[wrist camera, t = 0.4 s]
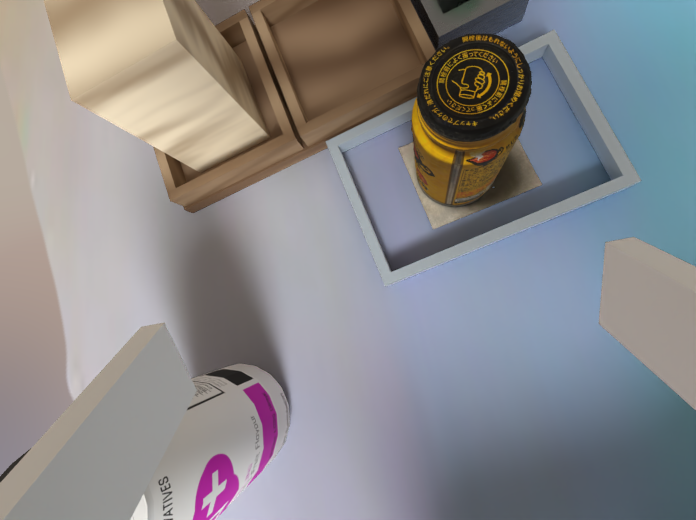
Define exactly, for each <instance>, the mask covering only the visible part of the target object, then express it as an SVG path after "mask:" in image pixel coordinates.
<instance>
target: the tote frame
mask: <svg viewBox="0 0 696 520" xmlns="http://www.w3.org/2000/svg"><path fill="white" fill-rule="evenodd" d="M518 48H519V49H520V50H521V52H522V53H523V54H524V56H525V59H526V60H527V62H528V63H531V62H533V61H535V60H537V59H539V58H541V57H543V59H544V61H545V63H546V65H547V66H548V68H549V70H550V72H551V73H552V75H553V77H554V79H555V81H556V82H557V84H558V86H559V88H560V90H561V91H562V93H563V95H564V97H565V98H566V100H567V102H568V104H569V106H570V107H571V109H572V111H573V113H574V115H575V116H576V118H577V120H578V122H579V123H580V125H581V127H582V129H583V131H584V132H585V134H586V136H587V138H588V140H589V141H590V143H591V145H592V147H593V148H594V150H595V152H596V154H597V156H598V157H599V159H600V161H601V163H602V165H603V166H604V168H605V170H606V172H607V173H608V175H609V177H610V179H611V181H609V182H606V183H604V184H601V185H599V186H597V187H594V188H592V189H589V190H587V191H585V192H582V193H580V194H577V195H575V196H573V197H570V198H568V199H565V200H563V201H561V202H558V203H556V204H553V205H551V206H549V207H546V208H544V209H541V210H539V211H537V212H534V213H532V214H529V215H527V216H525V217H522V218H520V219H517V220H515V221H513V222H510V223H508V224H505V225H503V226H501V227H498V228H496V229H493V230H491V231H489V232H486V233H484V234H481V235H479V236H477V237H474V238H472V239H469V240H467V241H465V242H462V243H460V244H457V245H455V246H453V247H450V248H448V249H445V250H443V251H440V252H438V253H436V254H433V255H431V256H428V257H426V258H424V259H421V260H419V261H416V262H414V263H412V264H409V265H407V266H404V267H402V268H400V269H397V270H395V271H391V269H390V266H389V264H388V262H387V259H386V257H385V254H384V252H383V250H382V247H381V245H380V242H379V240H378V238H377V235H376V233H375V230H374V228H373V226H372V223H371V221H370V218H369V216H368V214H367V211H366V209H365V206H364V204H363V202H362V199H361V197H360V195H359V192H358V190H357V187H356V185H355V183H354V180H353V178H352V175H351V173H350V171H349V168H348V166H347V163H346V161H345V159H344V156H343V154H342V153H343V152H345V151H347V150H349V149H351V148H354V147H356V146H358V145H360V144H362V143H364V142H366V141H368V140H370V139H372V138H374V137H376V136H379V135H381V134H383V133H385V132H387V131H389V130H391V129H393V128H395V127H397V126H399V125H401V124H404V123H406V122H408V121H410V120H412V110H413V106H414V103H415V100H416V98H417V97H415V98H413V99H411V100H409V101H407V102H405V103H403V104H401V105H399V106H397V107H395V108H393V109H391V110H389V111H387V112H385V113H383V114H381V115H379V116H377V117H374V118H372V119H370V120H368V121H366V122H364V123H362V124H360V125H358V126H356V127H354V128H352V129H350V130H348V131H346V132H344V133H342V134H340V135H338V136H336V137H334V138H332V139H330V140H327V141H325V142H326V144H327V147H328V149H329V151H330V154H331V156H332V159H333V161H334V164H335V166H336V168H337V171H338V173H339V176H340V178H341V181H342V183H343V185H344V188H345V190H346V193H347V195H348V198H349V200H350V202H351V205H352V207H353V210H354V212H355V215H356V217H357V219H358V222H359V224H360V227H361V229H362V232H363V234H364V237H365V239H366V241H367V244H368V246H369V249H370V251H371V254H372V256H373V258H374V261H375V263H376V266H377V268H378V271H379V273H380V275H381V278H382V280H383V283H384V285H385V286H386V287H388V286H390V285H393V284H395V283H398V282H400V281H403V280H405V279H407V278H410V277H412V276H415V275H417V274H420V273H422V272H425V271H427V270H429V269H432V268H434V267H437V266H439V265H442V264H444V263H446V262H449V261H451V260H454V259H456V258H459V257H461V256H464V255H466V254H468V253H471V252H473V251H476V250H478V249H481V248H483V247H485V246H488V245H490V244H493V243H495V242H498V241H500V240H503V239H505V238H507V237H510V236H512V235H515V234H517V233H520V232H522V231H524V230H527V229H529V228H532V227H534V226H537V225H539V224H542V223H544V222H546V221H549V220H551V219H554V218H556V217H559V216H561V215H563V214H566V213H568V212H571V211H573V210H576V209H578V208H581V207H583V206H585V205H588V204H590V203H593V202H595V201H598V200H600V199H602V198H605V197H607V196H610V195H612V194H615V193H617V192H619V191H622V190H624V189H627V188H629V187H631V186H633V185H635V184H637V183H638V182H640V181H641V179H640V177H639V175H638V174H637V172H636V170H635V169H634V167H633V165H632V163H631V162H630V160H629V158H628V156H627V155H626V153H625V151H624V149H623V148H622V146H621V144H620V143H619V141H618V139H617V137H616V136H615V134H614V132H613V130H612V129H611V127H610V125H609V123H608V122H607V120H606V118H605V117H604V115H603V113H602V111H601V110H600V108H599V106H598V104H597V103H596V101H595V99H594V97H593V96H592V94H591V92H590V90H589V89H588V87H587V85H586V84H585V82H584V80H583V78H582V77H581V75H580V73H579V71H578V70H577V68H576V66H575V64H574V63H573V61H572V59H571V58H570V56H569V54H568V52H567V51H566V49H565V47H564V45H563V44H562V42H561V40H560V38H559V37H558V35H557V33H556V32H555V30H552V31H550V32H548V33H546V34H544V35H542V36H540V37H538V38H536V39H534V40H532V41H530V42H528V43H526V44H524V45H522V46H520V47H518Z"/></svg>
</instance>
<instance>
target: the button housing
mask: <svg viewBox="0 0 696 520" xmlns="http://www.w3.org/2000/svg"><path fill="white" fill-rule="evenodd" d="M410 1H411V3H412V5H413V7H414V9H415V11H416V13H417V15H418V17H419V19H420V21H421V23H422V25H423V27H424V29H425V31H426V33H427V35H428V37H429V39H430V41H431V43H432V45H433V47H434V49H435V51H436V50H437V49H438V48H439V47H441V46H442V45H444V44H446V43H448V42H449V41H450V40H453V39H455V38H458V37H460V36H463V35H466V34H483V33H484V34H496V33H498V32H500V31H502V30H504V29H506V28H508V27H510V26H512V25H514V24H516V23H518V22H520V21H522V19H523V16H524V13H525V10H526V7H527V4H528V1H529V0H410Z"/></svg>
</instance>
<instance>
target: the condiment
mask: <svg viewBox="0 0 696 520" xmlns="http://www.w3.org/2000/svg"><path fill="white" fill-rule="evenodd" d="M531 77H532V76H531V71H530V67H529V64H528V62H527V60H526V59H525V56H524V54H523V53H522V52H521V50H520V49H519V48H518V47H516V45H515V44H514V43H512V42H511V41H509V40H507V39H504V38H502V37H500V36H497V35H494V34H484V33H483V34H466V35H463V36H460V37H458V38H455V39H453V40H450V41H449V42H448V43H446V44H444V45H442V46H441V47H439V48H438V49H437V50H436V52H435V53H434V54H433V55H432V57H431V58H430V59H429V60H428V61H427V62H426V63H425V65H424V67H423V69H422V72H421V75H420V78H419V83H418V86H417V98H416V100H415V103H414V106H413V110H412V129H411V130H412V132H413V142H412V143H410V144H408V145H405V146H403V147H400V148H398V149H399V151H400V153H401V156H402V158H403V160H404V163H405V165H406V167H407V170H408V172H409V175H410V177H411V179H412V182H413V184H414V186H415V189H416V191H417V193H418V196H419V198H420V200H421V203H422V205H423V207H424V210H425V211H426V214H427V216H428V219H429V221H430V223H431V226H432V228H433V229H436V228H438V227H441V226H443V225H446V224H448V223H451V222H453V221H456V220H458V219H460V218H463V217H466V216H468V215H470V214H473V213H475V212H478V211H480V210H482V209H485V208H488V207H490V206H492V205H494V204H496V203H499V202H502V201H504V200H507V199H509V198H512V197H514V196H517V195H519V194H521V193H523V192H526V191H528V190H531V189H533V188H536V187H538V186H540V185H542V183H541V181H540V180H539V178H538V176H537V174H536V173H535V171H534V169H533V167H532V165H531V163H530V161H529V159H528V157H527V155H526V154H525V152H524V150H523V148H522V145H521V143H520V141H519V139H518V137H519V136H520V133H521V131H522V128H523V125H524V121H525V113H526V105H527V103H528V101H529V97H530V95H531V84H532V81H531ZM492 187H495V188H492Z"/></svg>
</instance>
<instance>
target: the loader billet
mask: <svg viewBox="0 0 696 520" xmlns="http://www.w3.org/2000/svg"><path fill="white" fill-rule="evenodd" d="M44 3H45V7H46V10H47V14H48V18H49V21H50V25H51V29H52V32H53V36H54V40H55V43H56V47H57V50H58V54H59V58H60V61H61V65H62V69H63V72H64V76H65V80H66V83H67V87H68V91H69V94H70V98H71V100H72V101H74V102H75V103H77V104H79V105H81V106H82V107H84V108H86V109H88V110H90V111H91V112H93V113H95V114H97V115H98V116H100V117H102V118H104V119H106V120H107V121H109V122H111V123H113V124H114V125H116V126H118V127H120V128H122V129H123V130H125V131H127V132H129V133H131V134H132V135H134V136H136V137H138V138H139V139H141V140H143V141H145V142H147V143H148V144H150V145H152V146H154V147H155V148H157V149H159V150H161V151H163V152H164V153H166V154H168V155H170V156H171V157H173V158H175V159H177V160H179V161H180V162H182V163H184V164H186V165H187V166H189V167H191V168H193V169H195V170H196V171H198V172H200V173H201V172H203V171H205V170H207V169H209V168H211V167H213V166H215V165H217V164H219V163H221V162H223V161H225V160H227V159H229V158H231V157H233V156H235V155H237V154H239V153H241V152H243V151H245V150H247V149H249V148H251V147H253V146H255V145H257V144H259V143H260V142H262V141H264V140H266V139H268V138H270V135H269V132H268V130H267V127H266V124H265V122H264V119H263V116H262V114H261V111H260V109H259V106H258V103H257V101H256V98H255V96H254V93H253V90H252V88H251V85H250V82H249V80H248V77H247V75H246V72H245V69H244V67H243V64H242V61H241V59H240V58H239V57H238V56H237V54H236V53H235V52H234V50H233V49H232V48H231V47H230V45H229V44H228V43H227V41H226V40H225V39H224V37H223V36H222V35H221V34H220V32H219V31H218V30H217V28H216V27H215V26H214V25H213V23H212V22H211V21H210V19H209V18H208V17H207V16H206V14H205V13H204V12H203V10H202V9H201V8H200V6H199V5H198V4H197V3H196V1H195V0H44Z"/></svg>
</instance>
